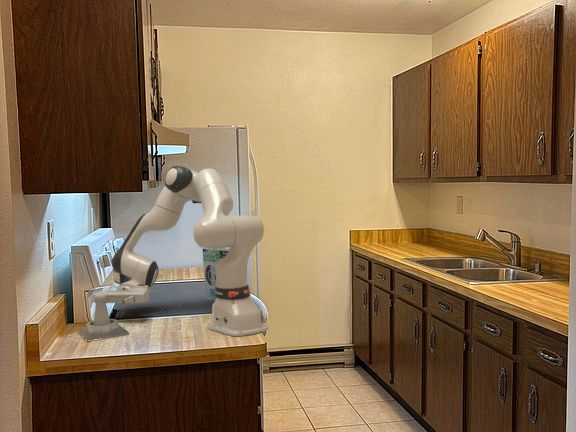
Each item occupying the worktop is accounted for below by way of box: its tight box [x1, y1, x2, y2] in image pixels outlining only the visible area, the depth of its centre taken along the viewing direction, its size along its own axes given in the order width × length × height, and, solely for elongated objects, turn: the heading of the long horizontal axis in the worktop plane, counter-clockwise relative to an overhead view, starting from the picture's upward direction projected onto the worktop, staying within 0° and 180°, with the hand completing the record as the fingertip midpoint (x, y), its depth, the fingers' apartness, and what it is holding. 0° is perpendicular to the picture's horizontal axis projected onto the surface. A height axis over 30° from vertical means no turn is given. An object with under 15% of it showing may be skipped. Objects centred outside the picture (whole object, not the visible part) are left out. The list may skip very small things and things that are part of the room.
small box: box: [119, 274, 132, 285], centre depth 285 cm, size 11×6×10 cm, turn 123°
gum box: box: [202, 248, 229, 302], centre depth 237 cm, size 20×5×23 cm, turn 43°
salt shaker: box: [93, 294, 111, 326], centre depth 194 cm, size 6×6×13 cm
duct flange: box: [76, 318, 130, 341], centre depth 194 cm, size 16×14×4 cm
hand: (111, 301), depth 202 cm, fingers open, 8 cm apart
